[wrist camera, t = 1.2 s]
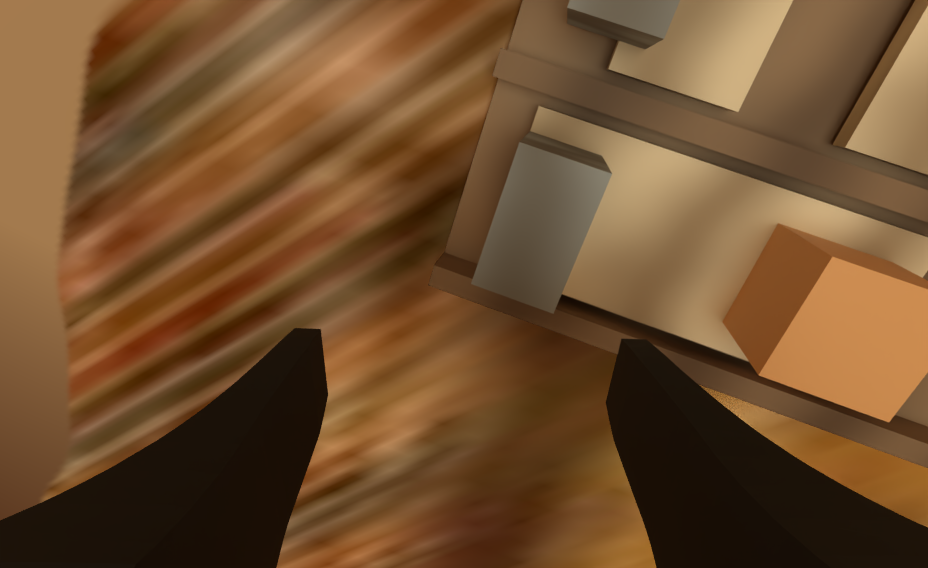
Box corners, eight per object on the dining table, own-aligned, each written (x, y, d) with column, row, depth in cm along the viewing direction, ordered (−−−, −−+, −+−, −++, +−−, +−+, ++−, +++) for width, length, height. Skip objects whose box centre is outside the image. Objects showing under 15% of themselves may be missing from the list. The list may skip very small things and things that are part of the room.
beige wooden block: (929, 236, 20) (1064, 290, 15) (828, 381, 23) (911, 473, 17) (540, 105, 21) (530, 109, 16) (486, 258, 24) (462, 308, 18)
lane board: (1302, -5, 17) (1652, -52, 11) (929, 444, 24) (1036, 547, 19) (592, -216, 18) (602, -346, 13) (441, 267, 26) (406, 314, 20)
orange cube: (892, 262, 20) (978, 306, 16) (827, 359, 22) (888, 422, 18) (778, 223, 20) (832, 256, 16) (722, 321, 22) (758, 375, 18)
